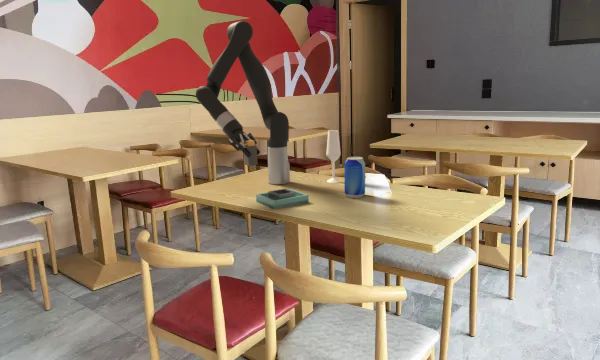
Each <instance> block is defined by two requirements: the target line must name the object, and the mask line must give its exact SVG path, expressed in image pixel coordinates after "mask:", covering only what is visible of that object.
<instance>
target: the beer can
mask: <svg viewBox="0 0 600 360" xmlns="http://www.w3.org/2000/svg"><path fill="white" fill-rule="evenodd" d="M344 194H345V196H346V197H347V198H349V199H359V198H363V197H364V195H365V194H366V163H365V161H364V158H363V157H362V156H348V157H346V160H345V162H344Z"/></svg>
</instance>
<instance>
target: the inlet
mask: <svg viewBox="0 0 600 360" xmlns="http://www.w3.org/2000/svg"><path fill="white" fill-rule="evenodd" d="M288 189H289V188H281V189H274V190H269V191H268V195H269V198H270V199H272V200H280V199H286V198H291V197H296V192H294V191H291V190H288Z"/></svg>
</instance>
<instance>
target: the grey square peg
mask: <svg viewBox="0 0 600 360" xmlns="http://www.w3.org/2000/svg"><path fill="white" fill-rule="evenodd" d="M245 148H247V149H248V150H249V151H250V152H251V154H252V155H251V156H250V157H249V158H248V157H247V156H246V155H245V154H244V153H243V160H244V165H245V166H246V167H247V166H248V167H251V166H258V155H257V148H258V147H257V144H256V145H255V142H254V141H253V140H247V141H245Z"/></svg>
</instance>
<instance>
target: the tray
mask: <svg viewBox="0 0 600 360" xmlns="http://www.w3.org/2000/svg"><path fill="white" fill-rule="evenodd" d="M287 189H288V190H291V191H294V192H296V197H291V198H286V199H280V200H272V199H270V198H269V195H268V192H262V193H256V194H255V197H256V198H255V200H256V203H259V204H261V205H264V206H265V207H268V208H271V209H272V210H276V209H280V208H281V209H282V208H288V207H291V206H298V205H302V204H308V203H309V202H310V201H309V200H310V199H309V194H306V193H304V192H300V191H297V190H294V189H291V188H287Z"/></svg>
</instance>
